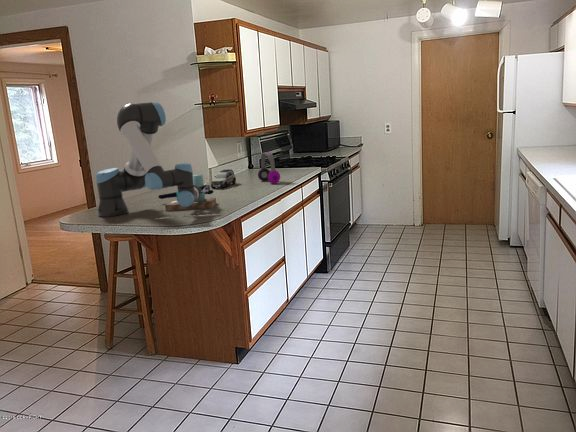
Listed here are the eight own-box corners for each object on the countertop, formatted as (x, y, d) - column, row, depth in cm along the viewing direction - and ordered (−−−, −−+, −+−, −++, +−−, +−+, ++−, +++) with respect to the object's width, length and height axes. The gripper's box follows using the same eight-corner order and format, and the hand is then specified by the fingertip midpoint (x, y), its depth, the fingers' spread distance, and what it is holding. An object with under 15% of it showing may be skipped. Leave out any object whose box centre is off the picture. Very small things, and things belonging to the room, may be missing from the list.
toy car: (209, 190, 320) (207, 174, 318) (219, 183, 344) (217, 169, 342) (228, 189, 318) (227, 173, 316) (237, 182, 342) (236, 168, 340)
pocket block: (166, 212, 256) (165, 204, 255) (172, 208, 268) (171, 200, 267) (212, 209, 255) (211, 201, 254) (216, 205, 267) (215, 197, 266)
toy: (162, 200, 302) (157, 207, 273) (160, 186, 300) (155, 192, 271) (213, 195, 306) (214, 201, 277) (212, 181, 305) (213, 187, 276)
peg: (195, 207, 259) (191, 176, 255) (197, 205, 263) (193, 174, 260) (204, 206, 258) (201, 175, 255) (206, 204, 263) (203, 174, 260)
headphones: (257, 181, 341) (254, 152, 336) (269, 179, 344) (266, 150, 340) (269, 184, 322) (266, 153, 318) (281, 183, 326) (279, 152, 321)
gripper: (174, 202, 242) (184, 194, 265) (210, 200, 242) (218, 191, 264) (172, 187, 241) (183, 180, 264) (209, 184, 240) (217, 177, 263)
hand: (200, 185), depth 264 cm, fingers closed on peg, 5 cm apart
